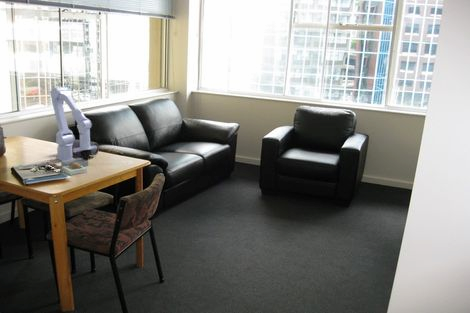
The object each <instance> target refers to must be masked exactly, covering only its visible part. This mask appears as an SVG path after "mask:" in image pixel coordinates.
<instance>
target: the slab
mask: <svg viewBox="0 0 470 313" xmlns="http://www.w3.org/2000/svg"><path fill="white" fill-rule="evenodd" d="M71 162H75V163H78V164H80V165H81V166H83V167H85V168H86V167H89V160H88V161H86V160H84V159H83V158H81V157H79V158H75V159H72V160H66V161H61V160H60V167H63V166H69V165H70V163H71Z"/></svg>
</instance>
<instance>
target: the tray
mask: <svg viewBox="0 0 470 313" xmlns="http://www.w3.org/2000/svg"><path fill="white" fill-rule="evenodd" d="M62 170H63V171H64V172H63V171H62ZM87 170H88V168H87V167H86V166H85V167H83V166H81V168H80V169H75V170H74V169H71V168H70V166H61V171H62V172H63V173H66V174H68V175H70V176H73V175H79V174H83V173H87Z"/></svg>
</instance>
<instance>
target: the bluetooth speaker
mask: <svg viewBox="0 0 470 313" xmlns="http://www.w3.org/2000/svg"><path fill="white" fill-rule="evenodd" d="M90 146H97V149H93V150H90V151H91V153H90V155H89V156H97V155H98V153H99V149H100V147H99V144H98V142H94V141H91V140H90ZM78 147H80V139H75V141H74V143H73V145H72V154H73V156H75V157H77V156H78V157H82V155H81V153H80V152H73V149H74V148H78Z"/></svg>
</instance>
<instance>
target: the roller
mask: <svg viewBox="0 0 470 313" xmlns="http://www.w3.org/2000/svg"><path fill="white" fill-rule="evenodd" d="M69 166H70V168H71V169H74V170H75V169H80V168H81V165H80V164H78V163H75V162H71V163H70V165H69Z"/></svg>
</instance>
